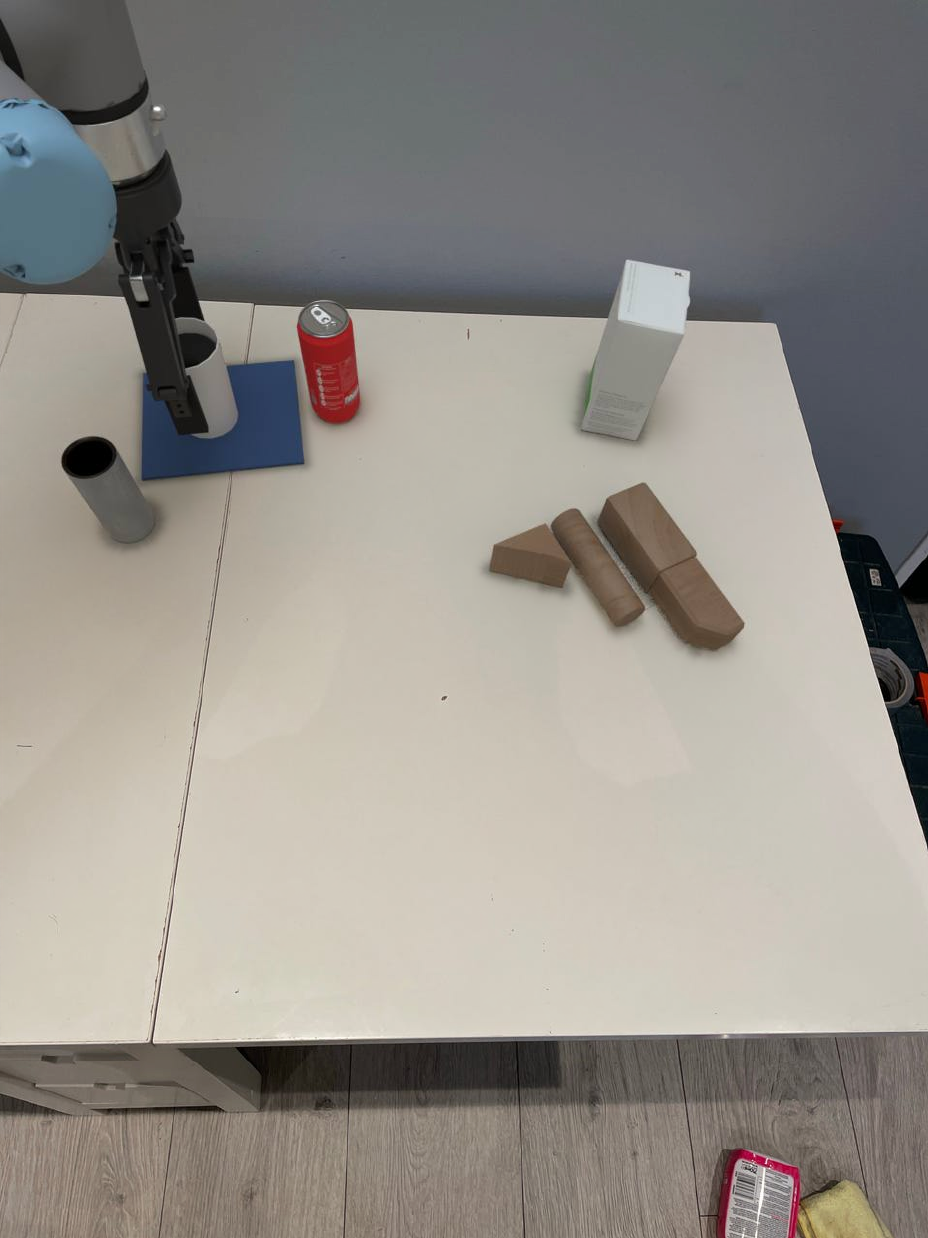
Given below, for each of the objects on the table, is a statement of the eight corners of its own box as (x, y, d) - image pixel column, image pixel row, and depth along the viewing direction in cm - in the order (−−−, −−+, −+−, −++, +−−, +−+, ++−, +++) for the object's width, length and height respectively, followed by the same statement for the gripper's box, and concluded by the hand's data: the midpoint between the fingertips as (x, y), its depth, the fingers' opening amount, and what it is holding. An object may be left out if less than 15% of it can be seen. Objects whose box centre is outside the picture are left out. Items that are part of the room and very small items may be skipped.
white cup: (245, 437, 76) (221, 365, 67) (178, 446, 75) (146, 374, 66) (239, 388, 79) (216, 313, 70) (175, 396, 78) (144, 321, 69)
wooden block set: (643, 466, 71) (756, 617, 64) (627, 500, 76) (731, 644, 69) (488, 529, 67) (593, 699, 60) (483, 561, 72) (579, 720, 65)
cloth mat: (142, 480, 74) (141, 478, 73) (144, 375, 79) (143, 372, 79) (304, 463, 76) (303, 461, 75) (294, 362, 81) (293, 359, 81)
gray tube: (116, 501, 72) (72, 431, 63) (161, 507, 72) (124, 439, 63) (100, 539, 70) (51, 474, 61) (146, 546, 70) (105, 482, 61)
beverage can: (331, 434, 77) (317, 347, 67) (302, 404, 79) (284, 314, 68) (370, 410, 79) (363, 321, 68) (341, 381, 81) (329, 290, 70)
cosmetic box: (589, 375, 83) (624, 254, 69) (647, 387, 83) (693, 267, 69) (579, 433, 79) (614, 317, 65) (640, 444, 79) (687, 331, 65)
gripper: (169, 273, 48) (237, 475, 67) (168, 57, 58) (227, 284, 77) (46, 280, 47) (151, 484, 66) (68, 59, 57) (153, 289, 76)
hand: (192, 376), depth 71 cm, fingers open, 13 cm apart
